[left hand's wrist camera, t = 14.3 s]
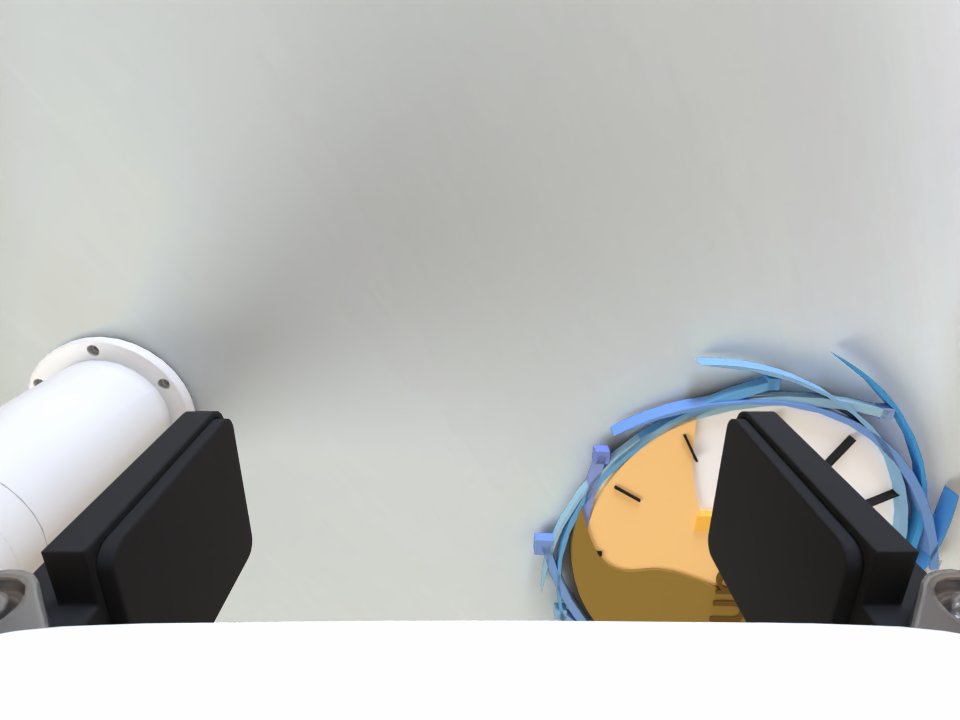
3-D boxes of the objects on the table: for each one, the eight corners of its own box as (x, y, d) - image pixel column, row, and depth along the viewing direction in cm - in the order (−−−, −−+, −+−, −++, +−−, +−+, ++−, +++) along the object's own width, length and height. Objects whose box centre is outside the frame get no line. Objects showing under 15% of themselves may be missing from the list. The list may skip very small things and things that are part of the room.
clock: (548, 341, 45) (551, 350, 44) (1002, 353, 46) (1025, 363, 44) (523, 674, 58) (524, 693, 56) (879, 681, 58) (892, 700, 57)
